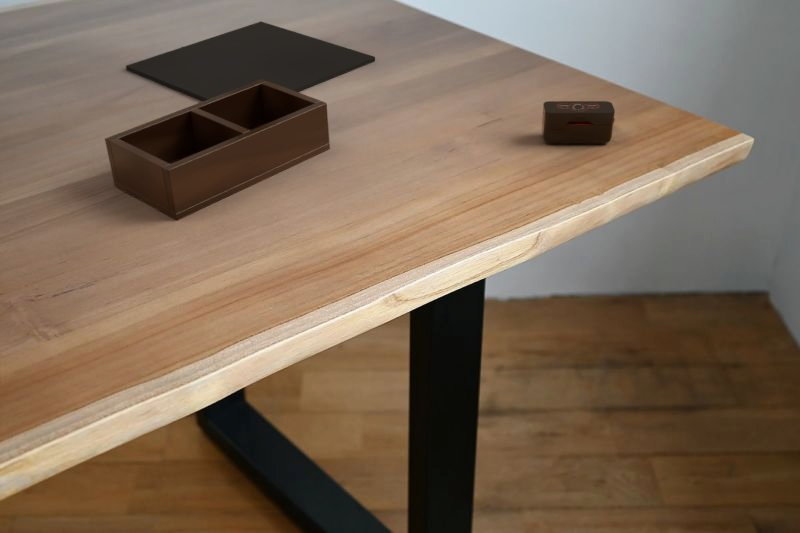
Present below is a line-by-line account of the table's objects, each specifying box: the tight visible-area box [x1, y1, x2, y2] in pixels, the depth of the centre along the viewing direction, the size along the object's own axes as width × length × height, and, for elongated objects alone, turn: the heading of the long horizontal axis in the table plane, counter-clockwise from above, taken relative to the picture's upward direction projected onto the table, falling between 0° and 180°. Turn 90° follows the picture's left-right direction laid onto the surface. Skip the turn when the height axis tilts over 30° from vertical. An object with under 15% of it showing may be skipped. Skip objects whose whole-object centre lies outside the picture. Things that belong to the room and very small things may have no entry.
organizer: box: [104, 79, 331, 221], centre depth 81 cm, size 9×17×5 cm, turn 138°
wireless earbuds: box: [541, 100, 616, 144], centre depth 85 cm, size 5×7×3 cm, turn 88°
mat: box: [125, 21, 376, 102], centre depth 103 cm, size 20×20×1 cm
